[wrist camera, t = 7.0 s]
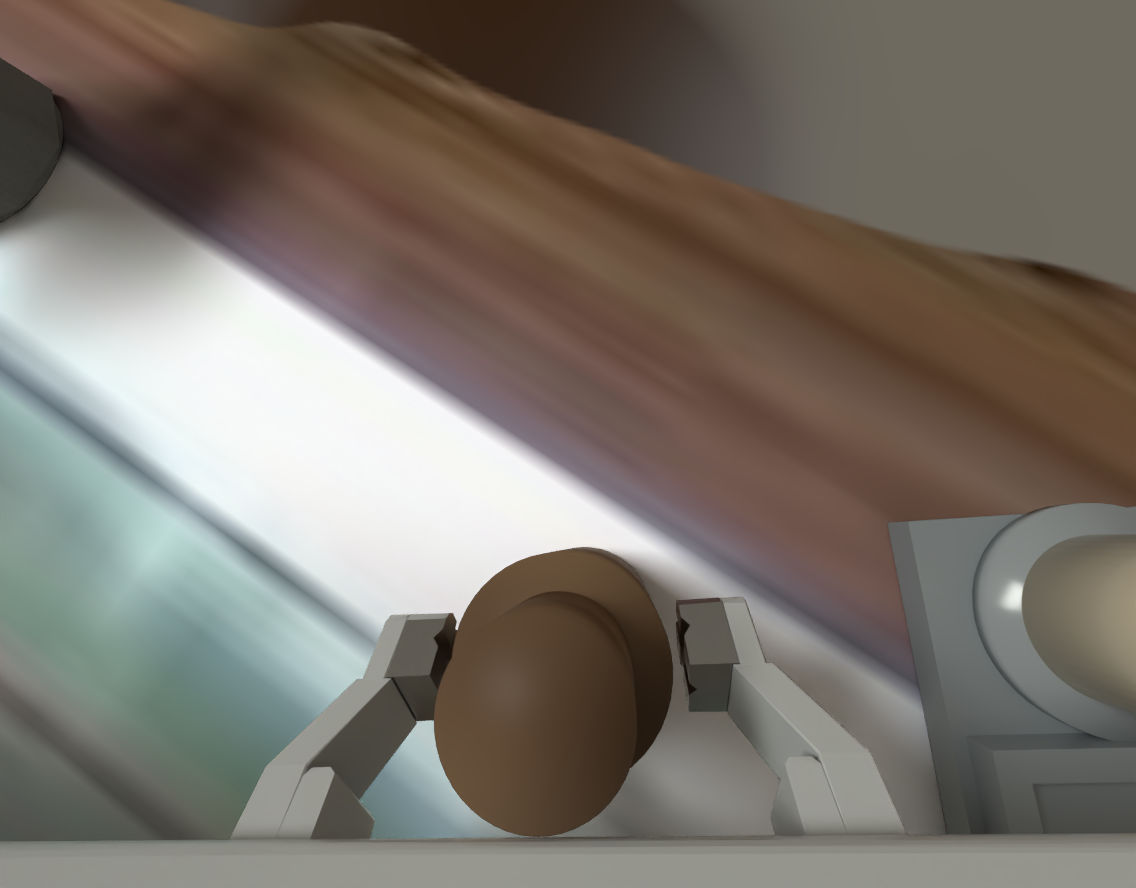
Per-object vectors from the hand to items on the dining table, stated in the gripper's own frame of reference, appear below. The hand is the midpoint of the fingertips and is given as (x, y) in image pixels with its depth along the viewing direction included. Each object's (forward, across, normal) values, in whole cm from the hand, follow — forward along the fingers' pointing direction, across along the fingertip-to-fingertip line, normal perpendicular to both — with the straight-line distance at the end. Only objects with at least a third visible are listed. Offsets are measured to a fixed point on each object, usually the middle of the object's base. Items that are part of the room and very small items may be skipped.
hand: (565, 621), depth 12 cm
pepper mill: (+3, 0, +4) cm, 5 cm away
